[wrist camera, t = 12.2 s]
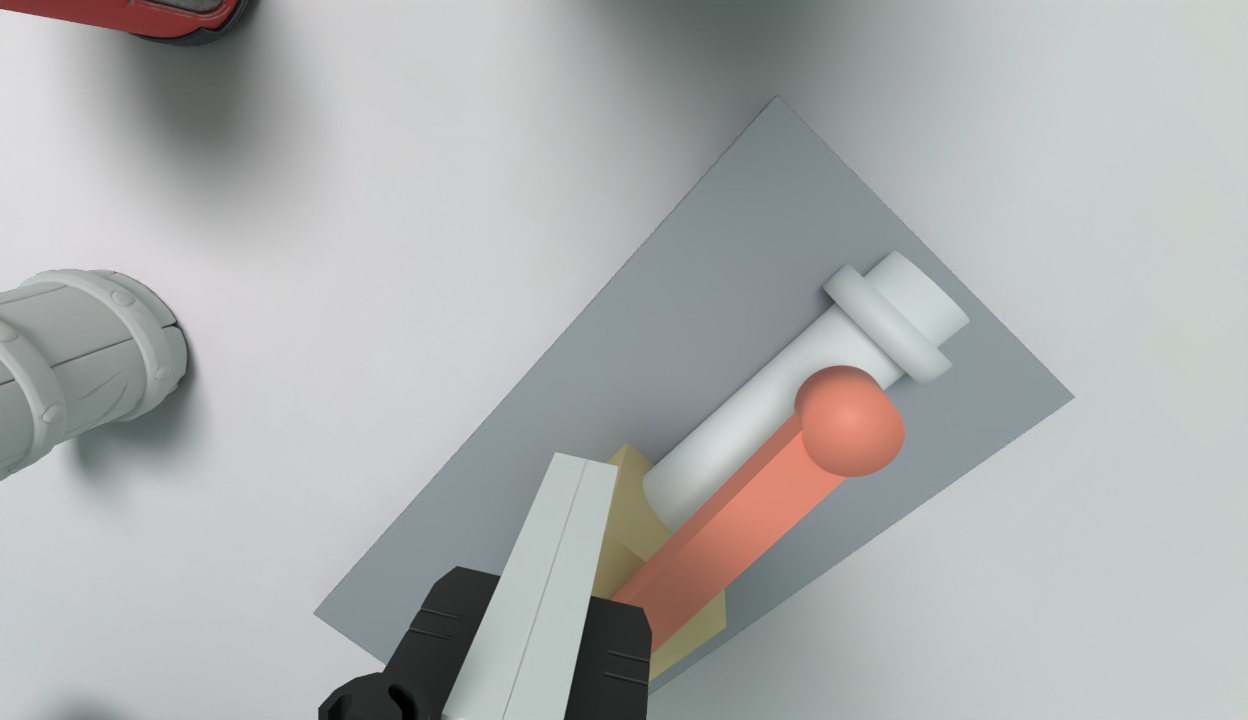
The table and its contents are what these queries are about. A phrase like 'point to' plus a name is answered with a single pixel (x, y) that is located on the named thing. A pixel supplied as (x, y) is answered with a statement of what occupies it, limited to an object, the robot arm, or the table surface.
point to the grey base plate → (723, 392)
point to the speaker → (144, 16)
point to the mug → (80, 359)
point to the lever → (769, 495)
